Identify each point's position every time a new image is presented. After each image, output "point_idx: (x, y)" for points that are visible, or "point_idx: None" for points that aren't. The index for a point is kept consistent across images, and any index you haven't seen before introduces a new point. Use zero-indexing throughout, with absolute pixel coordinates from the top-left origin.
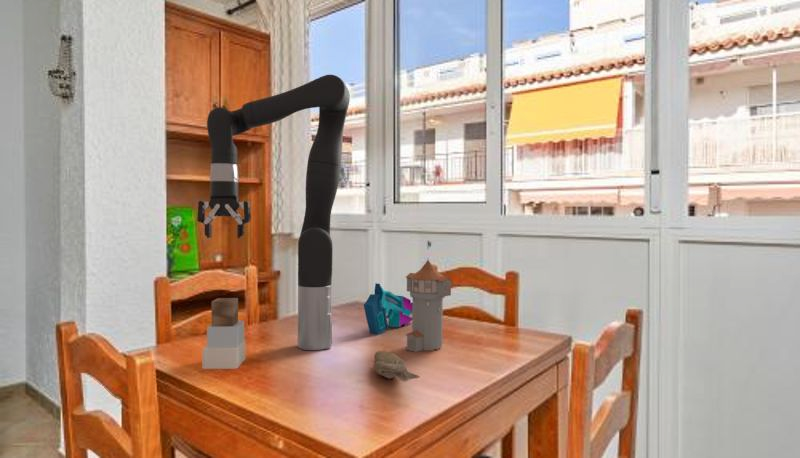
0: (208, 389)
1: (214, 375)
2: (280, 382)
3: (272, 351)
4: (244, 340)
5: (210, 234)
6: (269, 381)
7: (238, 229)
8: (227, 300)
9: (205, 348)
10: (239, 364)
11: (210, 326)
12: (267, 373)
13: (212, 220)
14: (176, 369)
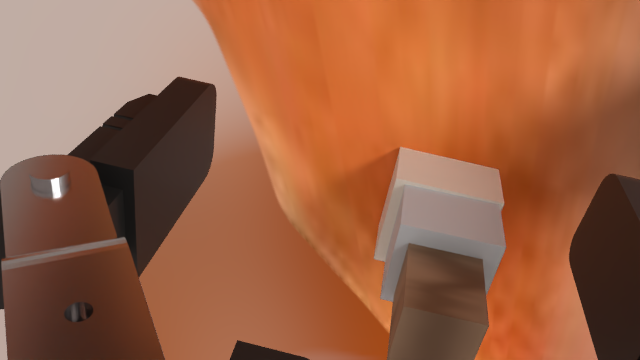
0: None
1: None
2: (563, 354)
3: (605, 104)
4: (501, 205)
5: (198, 141)
6: (540, 342)
7: (606, 340)
8: (445, 357)
9: (382, 259)
10: None
11: (390, 294)
12: (544, 297)
13: (111, 230)
14: (313, 211)
